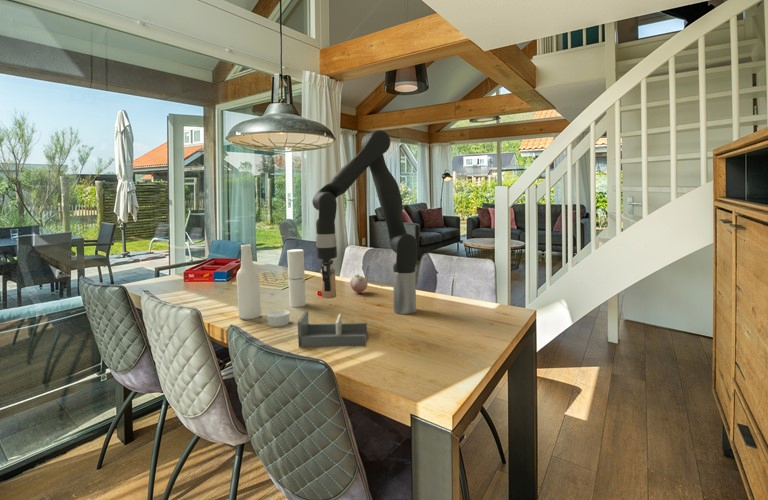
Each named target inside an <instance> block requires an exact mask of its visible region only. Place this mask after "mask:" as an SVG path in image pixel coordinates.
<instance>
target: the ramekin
mask: <svg viewBox="0 0 768 500" xmlns="http://www.w3.org/2000/svg"><path fill="white" fill-rule="evenodd" d="M265 315H266V318H267V324H268V326H269V327H272V328H273V327H274V328H275V327H278V328H279V327H284V326H287V325H288V324H289V323H290V315H291V313H290V311H289V310H286V309H277V310H272V311H268V312H267V313H266V314H265Z"/></svg>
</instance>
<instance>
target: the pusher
mask: <svg viewBox="0 0 768 500" xmlns="http://www.w3.org/2000/svg"><path fill="white" fill-rule="evenodd" d="M341 323H342V313H338V314H337V318H336V321H335V323H334V324H336V335H341V333H342V328H341Z"/></svg>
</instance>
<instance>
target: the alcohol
mask: <svg viewBox="0 0 768 500" xmlns="http://www.w3.org/2000/svg"><path fill="white" fill-rule="evenodd" d="M236 291H237V304H238V305H237V306H238V316H239V318H240V319H241V320H244V319H245V321H246V320H247V321H249V320H250V319H251V320H255V318H256V319H258V318H260V317H261V316H262V301H261V299H262V297H261V285H260V274H259V270H258V269H257V268H256V267H255V266H254V261H253V253H252V245H251V244H249V243H247V244H241V245H240V268H239V269H238V270H237V272H236Z"/></svg>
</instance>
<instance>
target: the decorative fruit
mask: <svg viewBox="0 0 768 500" xmlns="http://www.w3.org/2000/svg"><path fill="white" fill-rule="evenodd" d="M349 284H350V287H351V289H352V290H353V291H354V292H355V293H357V294H361V293H363V292H364V291H365V290H366V289H367V288H368V284H369V283H368V279H367V278H366V277H365V276H362V275H360V274H359V273H358V274H356V275H354V276H353V277H352V278H351V279H350V281H349Z"/></svg>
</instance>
